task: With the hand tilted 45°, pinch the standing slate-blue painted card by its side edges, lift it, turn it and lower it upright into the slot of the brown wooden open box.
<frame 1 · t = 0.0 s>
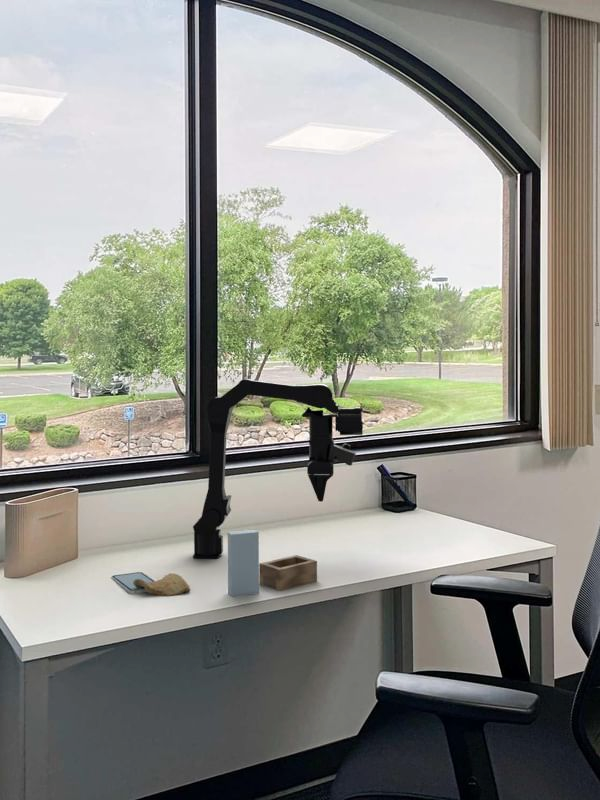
hand: (321, 497, 195), 15 cm above the table, fingers open, 9 cm apart
brown wooden open box: (288, 582, 173), on the table
slate card: (243, 593, 166), on the table
brown tapered lumpy piece: (162, 592, 168), resting on smartphone
smartphone: (136, 585, 173), on the table
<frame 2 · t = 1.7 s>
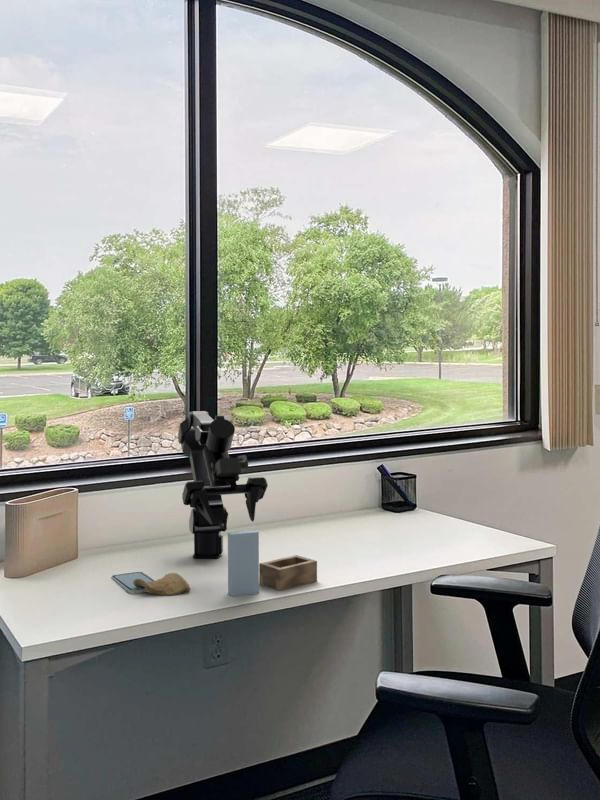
hand: (233, 522, 173), 13 cm above the table, fingers open, 9 cm apart
nothing on the table moved.
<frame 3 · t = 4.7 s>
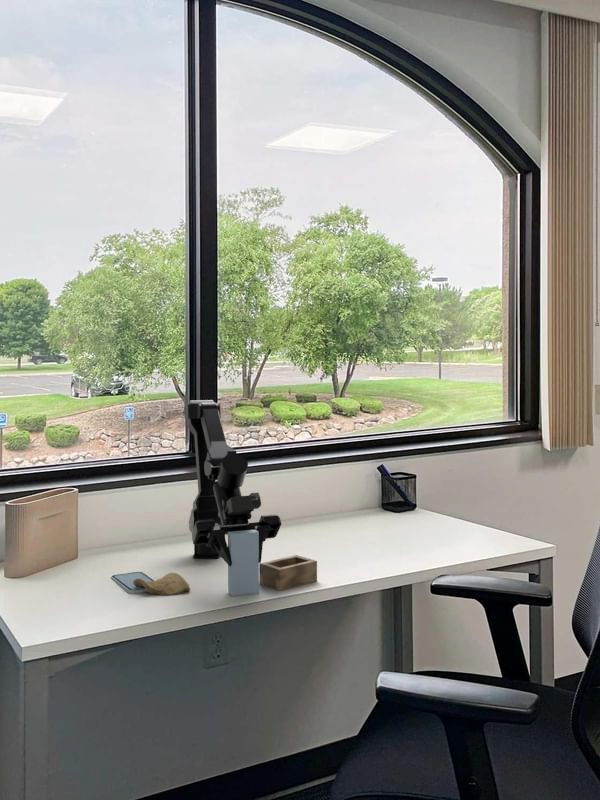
hand: (245, 563, 164), 7 cm above the table, fingers closed on slate card, 6 cm apart
slate card: (243, 592, 166), on the table, touching gripper
brown tapered lumpy piece: (162, 591, 168), resting on smartphone
smartphone: (136, 585, 173), on the table, touching brown tapered lumpy piece
when the fingers open (9 cm above the table, at t = 9.2 s): slate card drops 2 cm, resting in brown wooden open box.
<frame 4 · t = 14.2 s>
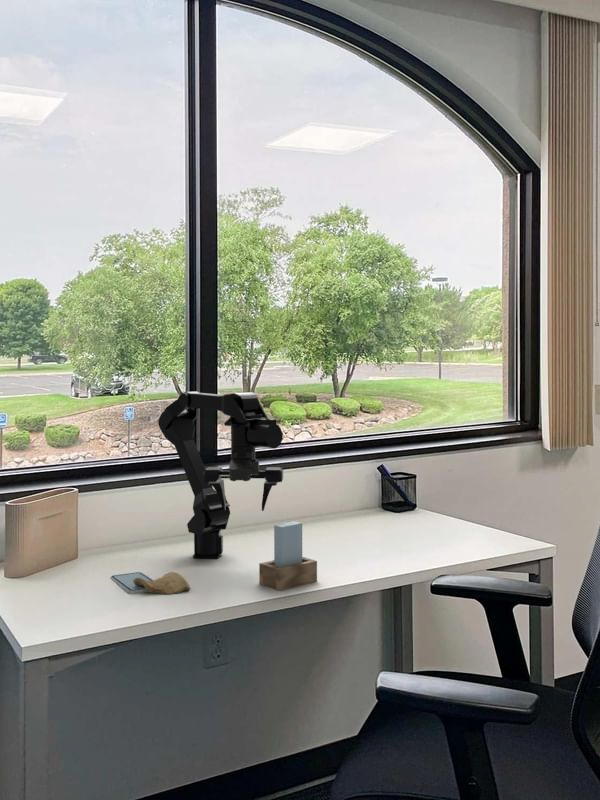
hand: (243, 510, 188), 13 cm above the table, fingers open, 9 cm apart
slate card: (288, 582, 173), resting in brown wooden open box
everything else where it was.
at the end: slate card 0.0 cm off-centre on the brown wooden open box, point 0.0 cm above the brown wooden open box's base; slate card tilted 0°; the gripper is holding nothing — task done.
